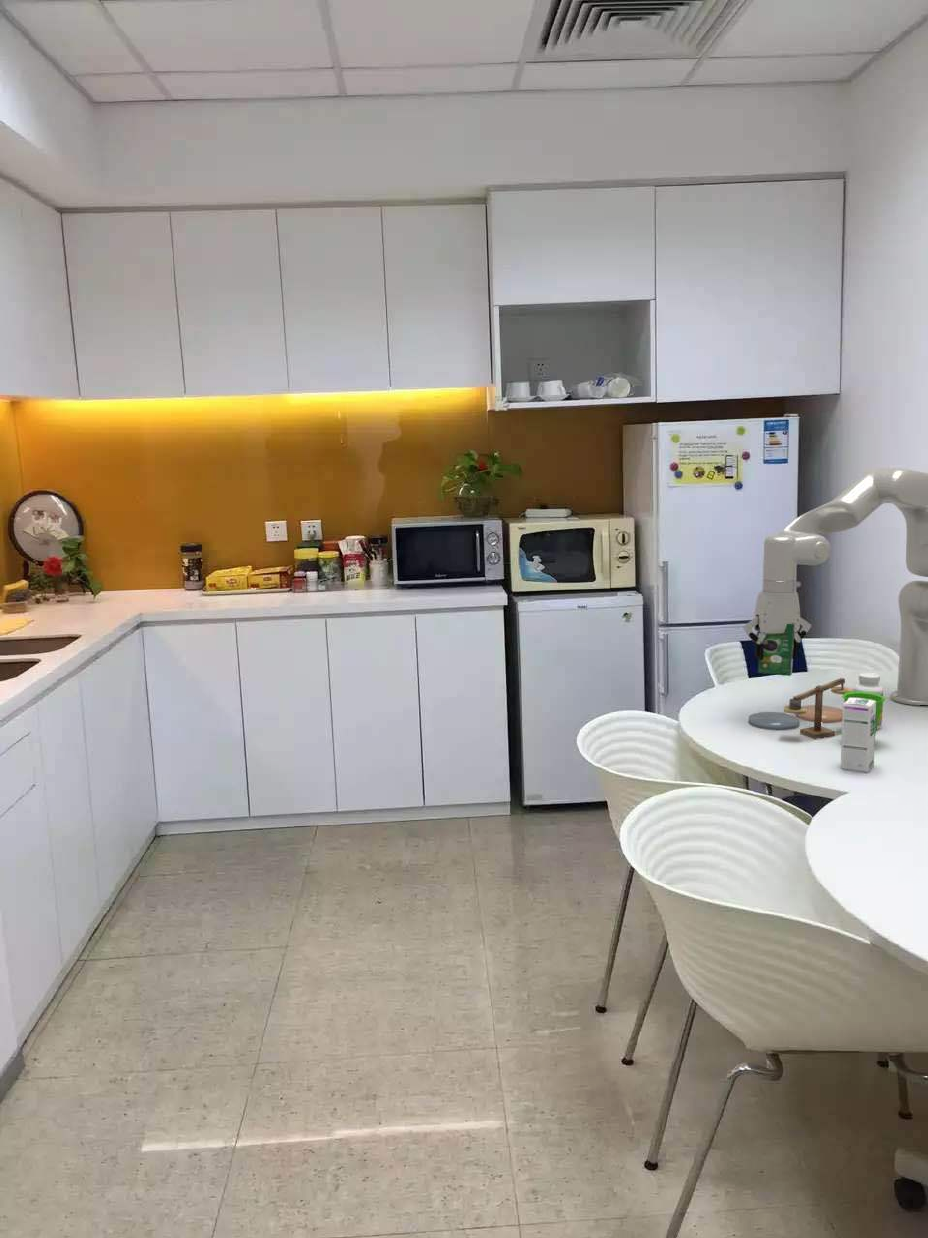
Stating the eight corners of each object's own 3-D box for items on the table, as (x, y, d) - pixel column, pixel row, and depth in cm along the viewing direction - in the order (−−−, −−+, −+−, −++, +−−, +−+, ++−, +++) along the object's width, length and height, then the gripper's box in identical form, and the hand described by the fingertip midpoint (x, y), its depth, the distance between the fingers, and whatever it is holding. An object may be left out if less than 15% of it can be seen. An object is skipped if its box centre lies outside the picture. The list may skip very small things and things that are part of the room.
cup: (881, 739, 233) (883, 693, 231) (883, 750, 224) (886, 703, 222) (839, 736, 236) (841, 690, 234) (840, 747, 227) (842, 700, 225)
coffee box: (793, 674, 244) (796, 621, 242) (791, 676, 242) (793, 622, 239) (759, 671, 248) (761, 618, 246) (757, 673, 245) (759, 620, 243)
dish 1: (787, 715, 253) (787, 710, 253) (807, 729, 242) (808, 724, 241) (741, 717, 252) (741, 713, 252) (759, 731, 240) (760, 726, 240)
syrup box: (868, 773, 210) (872, 705, 208) (839, 768, 213) (842, 702, 211) (874, 765, 215) (877, 699, 212) (845, 761, 218) (848, 696, 215)
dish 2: (832, 708, 259) (832, 704, 258) (855, 721, 247) (855, 716, 247) (787, 710, 257) (788, 706, 257) (808, 723, 246) (808, 719, 246)
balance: (840, 727, 242) (843, 674, 240) (856, 732, 238) (858, 679, 236) (778, 737, 236) (780, 683, 233) (792, 743, 231) (794, 688, 229)
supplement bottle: (884, 731, 239) (887, 678, 236) (854, 730, 240) (857, 678, 238) (878, 723, 245) (881, 672, 243) (849, 722, 246) (852, 671, 244)
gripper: (806, 583, 245) (803, 653, 248) (737, 585, 244) (735, 656, 247) (820, 588, 238) (817, 660, 241) (749, 590, 236) (747, 663, 239)
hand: (776, 658), depth 244 cm, fingers closed on coffee box, 7 cm apart
